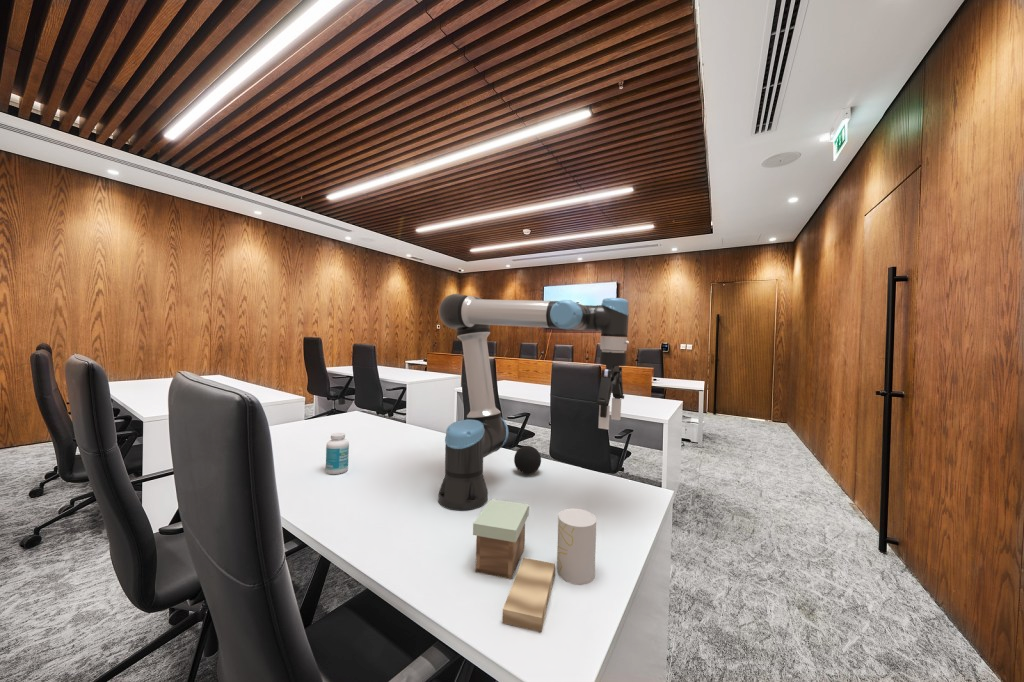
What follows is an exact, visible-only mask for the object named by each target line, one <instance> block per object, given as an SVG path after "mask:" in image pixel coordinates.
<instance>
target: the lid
mask: <svg viewBox="0 0 1024 682" xmlns="http://www.w3.org/2000/svg"><path fill="white" fill-rule="evenodd" d="M529 513H530V504H528V503H521V502H514V501H508V500H507V501H506V500H501V499H500V500H499V499H492V498H491V499H490V500H489V502H488V503H486V505H485V507H484V508H483V510H481V512H480V513H479V514H478V516H477V518H476V519H475V520H474V522H473V523H472V535H473V536H476V537H477V536H481V537H487V538H493V539H499V540H504V541H510V542H516V541H517V539H518V537H519V535H520V532H521V530H522V528H523V526H524V524H525V525H526V522H527V519H528V517H529Z"/></svg>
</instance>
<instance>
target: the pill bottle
mask: <svg viewBox="0 0 1024 682" xmlns="http://www.w3.org/2000/svg"><path fill="white" fill-rule="evenodd" d="M325 447H326V448H325V452H326V453H325V472H326V474H328V475H341V474H344V473H345V472H347V471H348V470H349V453H350V451H349V450H350V449H349V448H350V441H348V440H347V439H346V434H345V433H343V432H335V433H331V434H330V440H328V441H327V442H326V446H325ZM340 473H341V474H340Z"/></svg>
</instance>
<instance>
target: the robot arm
mask: <svg viewBox="0 0 1024 682" xmlns="http://www.w3.org/2000/svg"><path fill="white" fill-rule="evenodd" d="M438 315H439V319H440V321H441V322H442V323H443V325H444V326H446V327H447V328H449V329H452V330H453V329H454V330H456V338H457V339H459V340H460V341H461V344H462V351H463V359H464V367H465V375H466V377H465V378H466V383H467V391H468V399H469V409H470V411H469V412H468V414H466V419H463V420H458V421H454V422H452V423H451V424H450V425H448V426H447V427H446V431H445V432H446V433H445V438H444V442H445V446H444V447H445V449H444V450H445V455H444V456H445V457H444V476H443V478H442V479H443V480H442V483H441V485H440V487H439V491H438V498H437V500H438V504H440V505H441V506H442V507H444V508H446V509H448V510H449V509H450V510H453V511H468V510H474V509H478V508H481V507H482V506H484V505H485V504H487V502H488V499H489V492H488V488H487V484H486V481H485V477H484V458H485V457H487V456H490V455H491V454H493V453H496V452H498V451H499V450H500V449H502V448H503V446H505V444H506V443H507V441H508V438H509V427H508V424H507V422H506V421H505V420H504V419H503V417H502V414H501V413H502V411H500V410H499V409H498V408H497V407H496V403H495V402H496V401H495V393H494V388H493V386H494V385H493V378H492V371H491V370H492V369H491V364H490V363H491V362H490V355H489V348H488V337H489V336H490V334H491V330H490V329H491V328H490V327H491V326H503V327H504V326H508V327H526V328H546V329H547V328H550V329H561V330H569V331H596V332H597V331H600V344H599V349H600V350H601V351H600V353H599V364H600V365H603V366H605V368H602V370H601V378H600V383H599V384H600V385H599V389H598V395H597V400H596V403H595V404H596V405H597V406H599V407H598V408H599V409H598V427H597V428H598V429H602V430H609V429H610V419H611V420H613V421H614V420H615V421H621V419H622V417H621V415H622V411H621V410H622V400H624V399H625V395H624V385H623V367H624V366H626V365H627V358H628V357H627V353H626V352H627V349H628V344H629V343H630V341H629V340H628V329H629V315H630V314H629V301H628V299H626V298H621V297H609V298H608V297H606V298H603V300H602V302H601V304H600V305H599V304H598V305H586V304H584V305H583V304H581V303H578V302H576V301H573V300H570V299H561V300H527V299H524V300H523V299H517V300H516V299H482V298H480V297H478V296H472V295H466V294H460V293H452V294H450V295H448V296H446V297H444V298H443V299H442V300H441V302H440V304H439V308H438ZM611 396H613V397H611ZM610 401H611V405H610ZM610 411H611V412H610ZM610 413H611V415H610Z"/></svg>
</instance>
